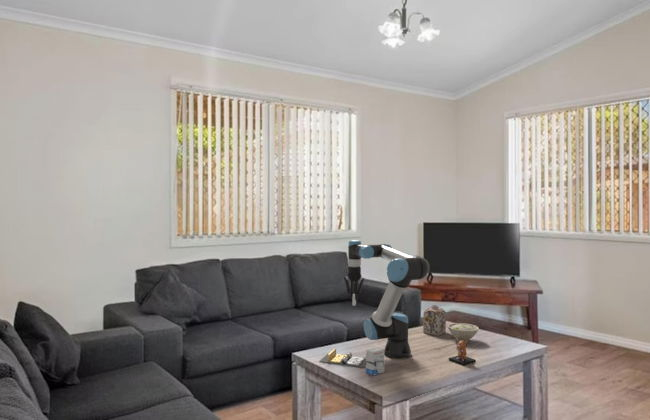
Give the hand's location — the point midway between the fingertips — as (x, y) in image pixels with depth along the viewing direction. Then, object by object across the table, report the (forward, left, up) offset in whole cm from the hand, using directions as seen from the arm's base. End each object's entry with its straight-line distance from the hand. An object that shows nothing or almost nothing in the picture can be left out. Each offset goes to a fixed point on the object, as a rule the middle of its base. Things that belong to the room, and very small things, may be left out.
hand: (354, 305), depth 291 cm
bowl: (-61, -34, -25) cm, 74 cm away
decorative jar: (-42, -47, -25) cm, 68 cm away
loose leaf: (-1, +30, -24) cm, 38 cm away
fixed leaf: (-8, +30, -24) cm, 39 cm away
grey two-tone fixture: (-4, +29, -24) cm, 38 cm away
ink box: (-23, +41, -25) cm, 53 cm away
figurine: (-63, +6, -25) cm, 68 cm away
